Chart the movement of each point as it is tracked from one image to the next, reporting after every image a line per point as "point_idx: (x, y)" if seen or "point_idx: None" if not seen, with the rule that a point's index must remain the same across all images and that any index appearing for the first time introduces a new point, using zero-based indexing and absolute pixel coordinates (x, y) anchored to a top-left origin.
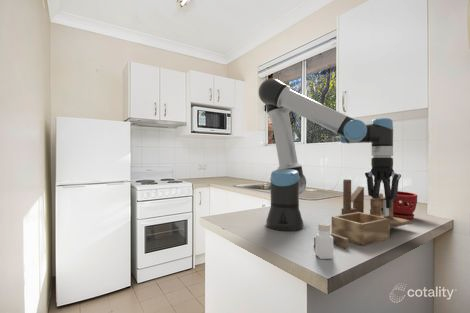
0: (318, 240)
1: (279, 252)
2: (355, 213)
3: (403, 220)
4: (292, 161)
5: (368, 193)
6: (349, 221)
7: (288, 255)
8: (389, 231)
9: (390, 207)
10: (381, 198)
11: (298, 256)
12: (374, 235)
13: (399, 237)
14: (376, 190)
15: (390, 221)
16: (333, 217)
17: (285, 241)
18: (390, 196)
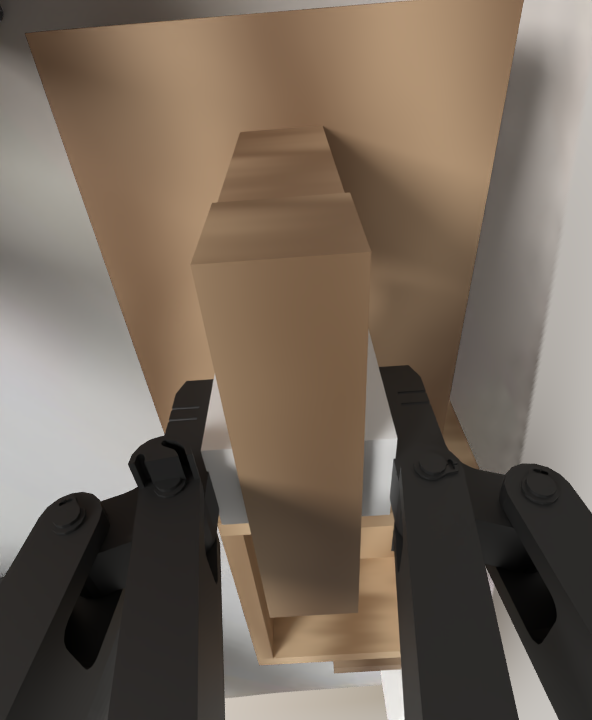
0: None
1: (318, 685)
2: (250, 564)
3: (457, 106)
4: None
5: (78, 598)
6: (372, 657)
7: (344, 681)
8: (461, 431)
9: (413, 381)
10: (319, 522)
11: (362, 673)
12: None
13: (481, 331)
14: (222, 677)
15: (388, 299)
16: (271, 661)
17: (251, 661)
18: (494, 574)
